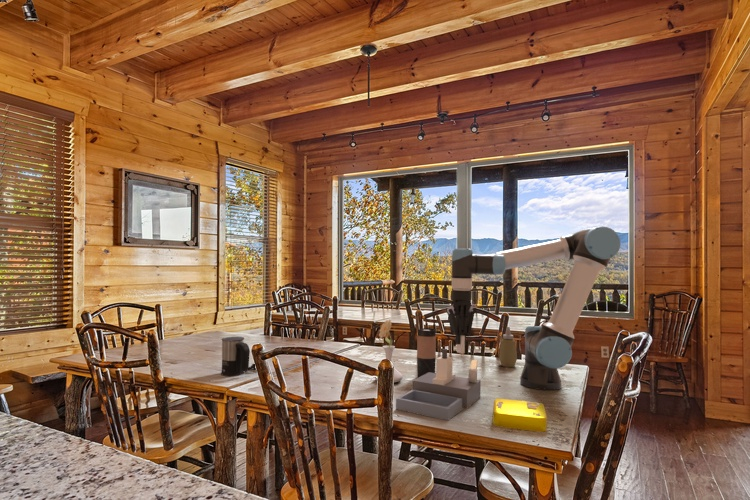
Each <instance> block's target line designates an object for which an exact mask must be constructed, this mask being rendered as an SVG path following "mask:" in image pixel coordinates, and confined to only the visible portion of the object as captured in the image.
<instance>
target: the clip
mask: <svg viewBox="0 0 750 500" xmlns="http://www.w3.org/2000/svg"><path fill="white" fill-rule="evenodd" d="M467 378H468V381H469V382H471V383H476V382H477V380H478V360H477V359H471V362H470V368H468V377H467Z"/></svg>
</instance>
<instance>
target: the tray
mask: <svg viewBox="0 0 750 500" xmlns="http://www.w3.org/2000/svg"><path fill="white" fill-rule="evenodd" d="M396 409H399V410H398V411H401V410H404V411H403V412H406V411H409V412H408V413H411V412H413V413H412V414H415V413H418V414H417V415H420V414H422V416H425V415H426V417H430V418H434V417H435V418H434V419H438V420H439V419H440V420H444V421H450V420H451V419H453V418H454V417H455V416H456V415H457V414H458V413H459V412H461V411H462V410H463V407H462V398H457V397H451V396H446V395H440V394H435V393H429V392H423V391H418V390H412V389H411V390H409V391H408V392H405V393H404V394H402V395H400V396H398V397H396V399H395V410H396Z"/></svg>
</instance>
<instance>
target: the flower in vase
mask: <svg viewBox="0 0 750 500" xmlns="http://www.w3.org/2000/svg"><path fill="white" fill-rule="evenodd" d="M391 328H392V321H391V320H390V319H386V320H385V321H384V322H383V323H382V324H381V326H380V329H379V333H378V337H379V338H380V339H383V338H385V339H384V340H385V342H387V344H388V345H382V348H383V350H384V354H385V360H386V359H389V360H390V361H391V362H392V358H393V352H394V349H395V348H396V346H395V345H393V339H392V336H391V333H390V330H391ZM387 334H388V335H389V338H390V339H389V338H388V336H387ZM373 378H374V379H375V380H376V381H377V378H376V377H373ZM402 379H403V375H402V373H401V372H400V371H398V370H397V369H396V368H395V367H394V384H395V383H397V382H400V381H402Z"/></svg>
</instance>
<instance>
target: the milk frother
mask: <svg viewBox="0 0 750 500" xmlns="http://www.w3.org/2000/svg"><path fill="white" fill-rule="evenodd" d="M244 340H245V337H243V336H228V337H223V338H221V372H220V375H221V376H225V377H234V376H235V377H236V376H240V375H243V374H244V373H245V372H246V371H249V370H250V371H251V370H252V369H253V370H254V371H255V370H256V369H255V364H256V363H255V364H254V363H252V364H251V365H250V353H251V351H250V350H251V349H250V347H249V345H248V344H247V343H246V342H245V341H244Z"/></svg>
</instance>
